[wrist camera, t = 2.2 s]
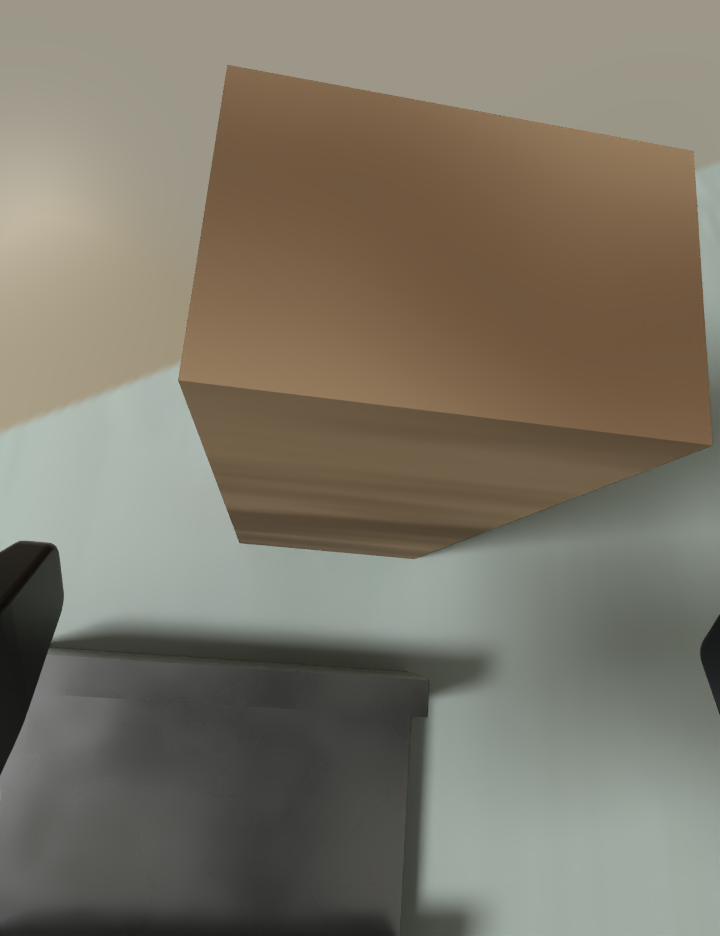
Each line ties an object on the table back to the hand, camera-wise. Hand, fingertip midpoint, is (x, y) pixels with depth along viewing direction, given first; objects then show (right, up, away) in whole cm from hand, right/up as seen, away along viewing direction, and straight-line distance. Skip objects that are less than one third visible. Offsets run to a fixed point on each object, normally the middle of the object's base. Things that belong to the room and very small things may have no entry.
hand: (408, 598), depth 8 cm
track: (-5, -9, +11) cm, 15 cm away
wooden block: (-2, +1, +13) cm, 14 cm away
